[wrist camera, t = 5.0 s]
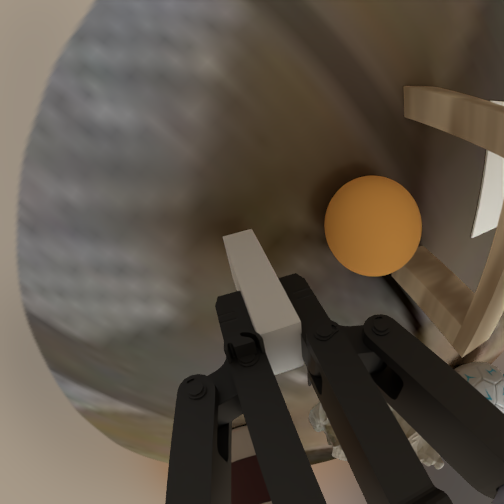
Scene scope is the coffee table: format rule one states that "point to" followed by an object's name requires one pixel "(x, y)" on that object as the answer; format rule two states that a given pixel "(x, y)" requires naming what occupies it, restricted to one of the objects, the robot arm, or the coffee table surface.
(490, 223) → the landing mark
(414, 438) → the ceramic cottage
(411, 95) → the bridge
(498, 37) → the coffee table surface
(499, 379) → the puzzle ball
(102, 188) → the coffee table surface
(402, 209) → the ball
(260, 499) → the coffee cup
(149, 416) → the coffee table surface
